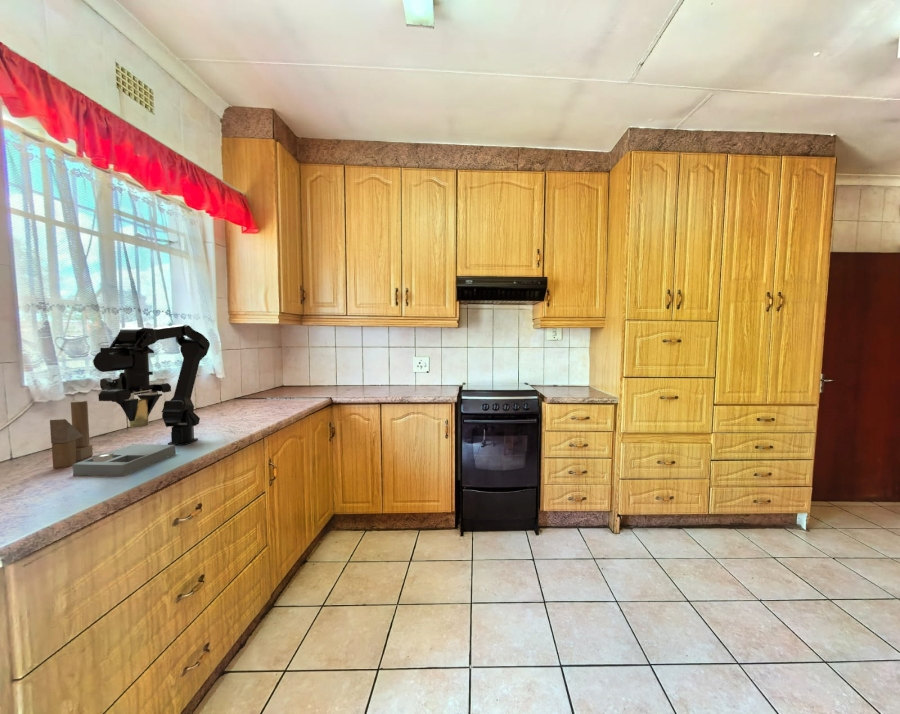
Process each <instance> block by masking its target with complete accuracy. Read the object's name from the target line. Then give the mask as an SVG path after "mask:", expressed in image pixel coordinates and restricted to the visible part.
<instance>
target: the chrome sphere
mask: <svg viewBox="0 0 900 714" xmlns="http://www.w3.org/2000/svg"><path fill="white" fill-rule="evenodd" d="M92 458H93V462H104V461H107V460H110V459H113V458H114V453H108V452H103V453H98V454H95V455H92Z"/></svg>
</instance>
